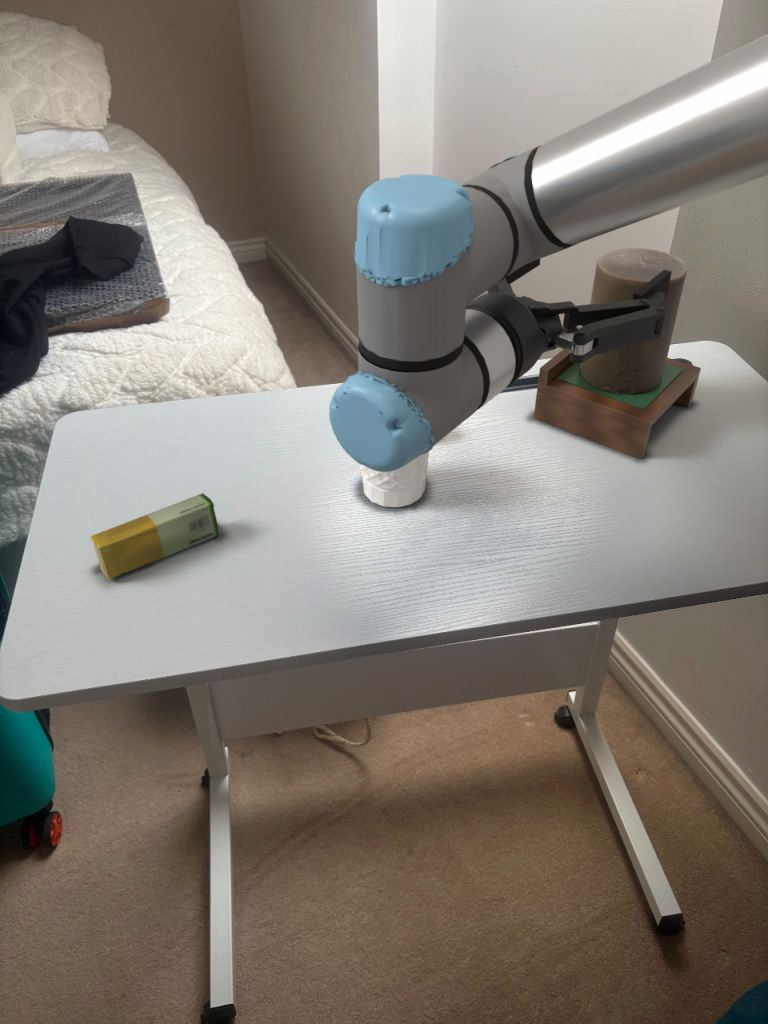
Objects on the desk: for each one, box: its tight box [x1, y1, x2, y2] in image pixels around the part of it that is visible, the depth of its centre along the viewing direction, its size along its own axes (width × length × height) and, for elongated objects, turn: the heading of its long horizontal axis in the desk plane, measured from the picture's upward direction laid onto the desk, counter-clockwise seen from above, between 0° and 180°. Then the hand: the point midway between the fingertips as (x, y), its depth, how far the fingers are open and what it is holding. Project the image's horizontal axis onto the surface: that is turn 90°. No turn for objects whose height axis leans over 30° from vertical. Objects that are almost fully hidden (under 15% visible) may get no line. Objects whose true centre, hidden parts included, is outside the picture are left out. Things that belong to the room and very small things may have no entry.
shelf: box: [533, 349, 702, 459], centre depth 100 cm, size 14×15×7 cm
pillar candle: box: [580, 247, 688, 394], centre depth 94 cm, size 10×10×15 cm
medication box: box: [90, 492, 221, 580], centre depth 82 cm, size 12×3×4 cm, turn 125°
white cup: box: [359, 451, 430, 508], centre depth 88 cm, size 8×8×10 cm
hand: (599, 267), depth 81 cm, fingers open, 13 cm apart
